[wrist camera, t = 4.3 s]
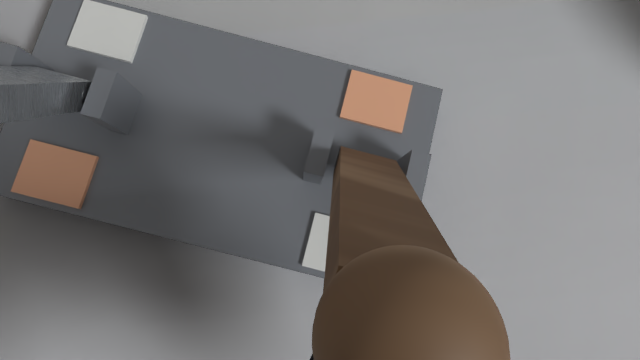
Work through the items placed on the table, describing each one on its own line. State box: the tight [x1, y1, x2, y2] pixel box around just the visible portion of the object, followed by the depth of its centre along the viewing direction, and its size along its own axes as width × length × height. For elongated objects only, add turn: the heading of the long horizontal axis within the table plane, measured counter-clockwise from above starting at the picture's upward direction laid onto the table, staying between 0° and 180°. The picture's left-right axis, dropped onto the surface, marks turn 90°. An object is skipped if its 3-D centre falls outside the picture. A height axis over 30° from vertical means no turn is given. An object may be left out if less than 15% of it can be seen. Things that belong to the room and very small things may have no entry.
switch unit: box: [0, 0, 443, 278], centre depth 17 cm, size 10×19×4 cm, turn 76°
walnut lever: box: [312, 146, 510, 360], centre depth 10 cm, size 3×3×13 cm
